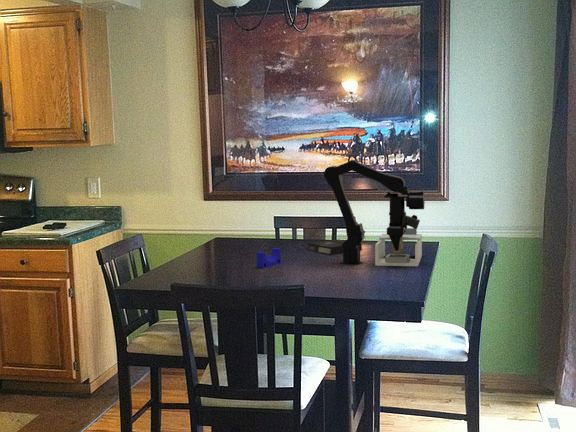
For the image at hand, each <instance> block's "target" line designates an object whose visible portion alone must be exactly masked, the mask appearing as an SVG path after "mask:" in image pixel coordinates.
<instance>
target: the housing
mask: <svg viewBox="0 0 576 432" xmlns="http://www.w3.org/2000/svg"><path fill="white" fill-rule="evenodd" d="M422 237H423V236H421V239H420V240H416V243H415V245H414V246H415V247H414V256H415V257H414V258H411V255H410V254H409V253H408V254H407V253H402V254H393V253H389V254H386V240H379V239H378V241H377V242H376V244H374V248H375V249H374V252H375V253H374V254H375V255H374V257H375V258H374V259H375V261H374V262H375V263H374V265H375V266H376V267H377V266H380V267H382V266H385V267H386V266H387V267H389V266H390V267H391V266H392V267H419V265H420V262H421V260H422V256H423V254H422V252H423V249H422V248H423V247H422V246H423V241H422V240H423V238H422Z"/></svg>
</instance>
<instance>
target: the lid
mask: <svg viewBox="0 0 576 432" xmlns="http://www.w3.org/2000/svg"><path fill="white" fill-rule="evenodd" d="M417 229H418V228H417ZM417 229H414V228H413V227H410V228H409V227H407V229H405V228H404V230H406V232H405V233H404V235H403V241H417V240H420V239H421V237H423V235H422V233H417V232H418V231H417ZM379 240H385V241H386V240H387V241H388V240H389V241H391V239H390V237H389V235H388V234H387V233H381V234H380V236H379V237H378V241H379Z"/></svg>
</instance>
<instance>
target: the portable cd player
mask: <svg viewBox="0 0 576 432" xmlns="http://www.w3.org/2000/svg"><path fill="white" fill-rule="evenodd" d="M345 241H346V240H344V239H343V240H342V239H332V240H325V241H324V240H323V241H316V242H309V243H308V245H307V250H308V251H310V252H311V251H312V252H315V251H316V252H315V253H319V252H320V254H323V253H324V255H327V254H328V256H333V255H334V254H336V255H343V246H342V244H343V243H344V242H345ZM358 247H360V252H362V249H363V248H362V247H363V245H362V242H361V243H360V244H359V246H358Z"/></svg>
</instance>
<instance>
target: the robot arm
mask: <svg viewBox="0 0 576 432" xmlns="http://www.w3.org/2000/svg"><path fill="white" fill-rule="evenodd" d="M349 172H355V173H357V174H359V175H362V176H363V177H367V178H368V179H371V180H374V181H375V182H378V183H380V184H381V185H382V186H384V187H385V188H387V189H388V190H389V191H387V193H386V194H385V195H384V196H383V197H384V198H385V199H389V212H388V216H389V223H388V226H387V228H386V234H388V235H389V237H390V239H391V240H390V242H391V243H392V244H393V246H394V248H395V250H396V251H398V250H399V244H400V238H401V236H403V235H404V233H405V232H406V230H404V228H405V229H407V228H408V227H410V228H414V229H418V227H419V224H420V221H421V220H420V219H419V218H418V216H417V215H416V214H413V215H411V216H410V215H407V212H406V210H405V206H406V208H408V209H409V210H425V203H426V201H425V193H424V191H410V189H408V187H407V186H406V182H405V181H406V180H405V179H404V178H403V177H401V176H399V175H394V174H389V173H385V172H382V171H380V170H377V169H375V168H372V167H370V166H368V165H366V164H363V163H362V162H361V163H360V162H358V160H356V159H351V160H348V161H347V162H345V163H342V164H340V165H337V166H336V165H332V166H328V167H326V168H325V170H324V171H323V176H324V179H325V181H326V182H327V184H328V185H329V187H330V188H331V189H332V191H333V194H334V196H335V199H336V202H337V204H338V208H339V209H340V212H341V216H342V217H343V221H344V223H345V230H346V231H345V232H346V238H347V239H346V240H344V241H345V242H344V243H343V244H342V246H343V253H342V261H340V262H339V263H340V264H344V265H352V266H353V265H359V264H362V263H364V262H363V261H361V251H360V247H358V246H359V244H360V243H362V242H363V241H364V239H365V233H366V231H365V230H364V227H363V223H362V222H361V223H358V221H357V220H356V218H355V216H354V215H355V214H354V212H353V210H352V208H351V204H350V202H349V199H348V196H347V194H346V190H345V188H344V183H343V181H344V180H343V175H345V174H347V173H349ZM400 194H401V195H400ZM392 244H391V245H392Z"/></svg>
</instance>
